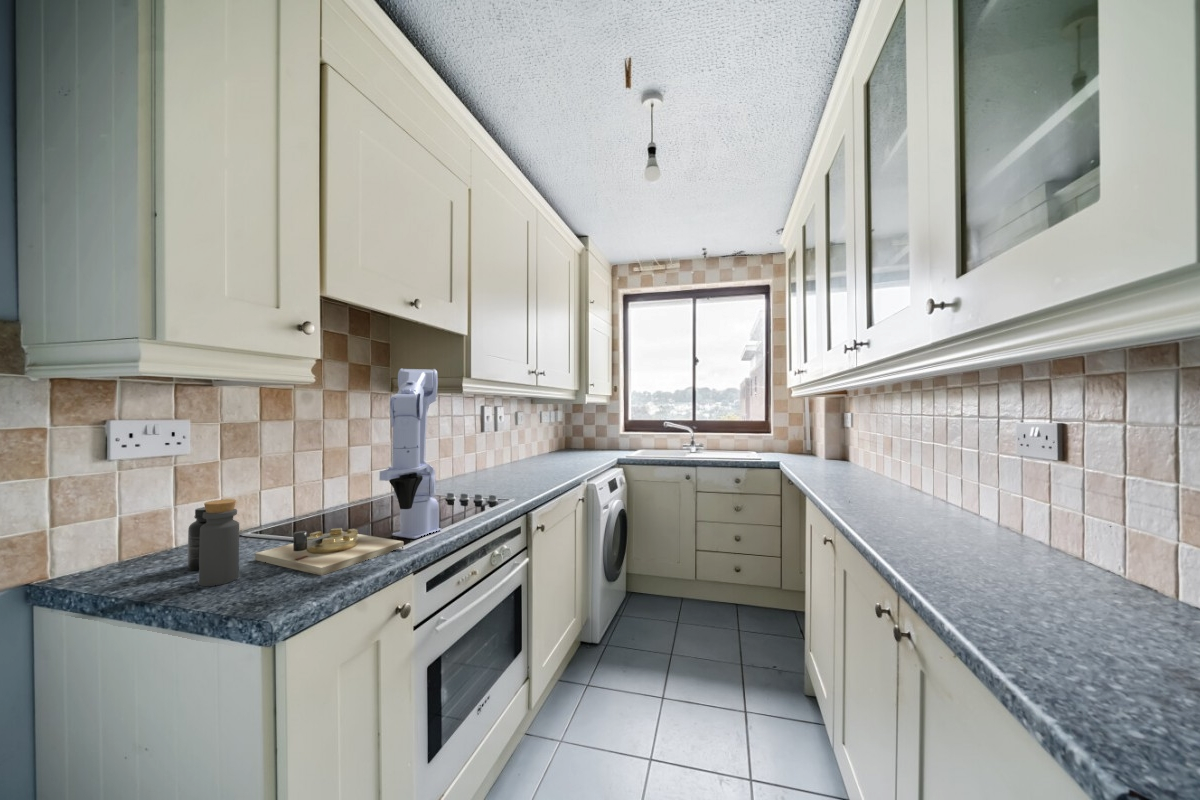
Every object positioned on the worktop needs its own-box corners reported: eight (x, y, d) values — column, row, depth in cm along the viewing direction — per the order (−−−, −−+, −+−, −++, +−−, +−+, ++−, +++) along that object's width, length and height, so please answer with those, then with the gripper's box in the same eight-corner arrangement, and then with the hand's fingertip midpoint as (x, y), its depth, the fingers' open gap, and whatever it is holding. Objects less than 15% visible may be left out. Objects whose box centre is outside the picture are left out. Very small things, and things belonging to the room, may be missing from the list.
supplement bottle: (235, 563, 98) (236, 506, 99) (194, 573, 93) (195, 512, 93) (222, 558, 102) (223, 503, 102) (182, 566, 96) (183, 508, 97)
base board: (340, 536, 119) (340, 530, 119) (403, 547, 109) (403, 540, 110) (254, 560, 101) (255, 552, 101) (321, 575, 91) (321, 566, 91)
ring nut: (367, 541, 109) (367, 517, 109) (316, 562, 94) (317, 535, 94) (329, 539, 111) (329, 516, 111) (274, 559, 96) (274, 532, 96)
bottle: (205, 578, 90) (206, 500, 90) (242, 573, 93) (243, 497, 93) (193, 588, 85) (195, 505, 85) (233, 583, 87) (234, 503, 88)
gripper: (411, 444, 112) (411, 501, 112) (367, 449, 98) (366, 514, 98) (437, 445, 110) (437, 502, 110) (396, 450, 96) (395, 516, 96)
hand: (405, 508), depth 104 cm, fingers closed
